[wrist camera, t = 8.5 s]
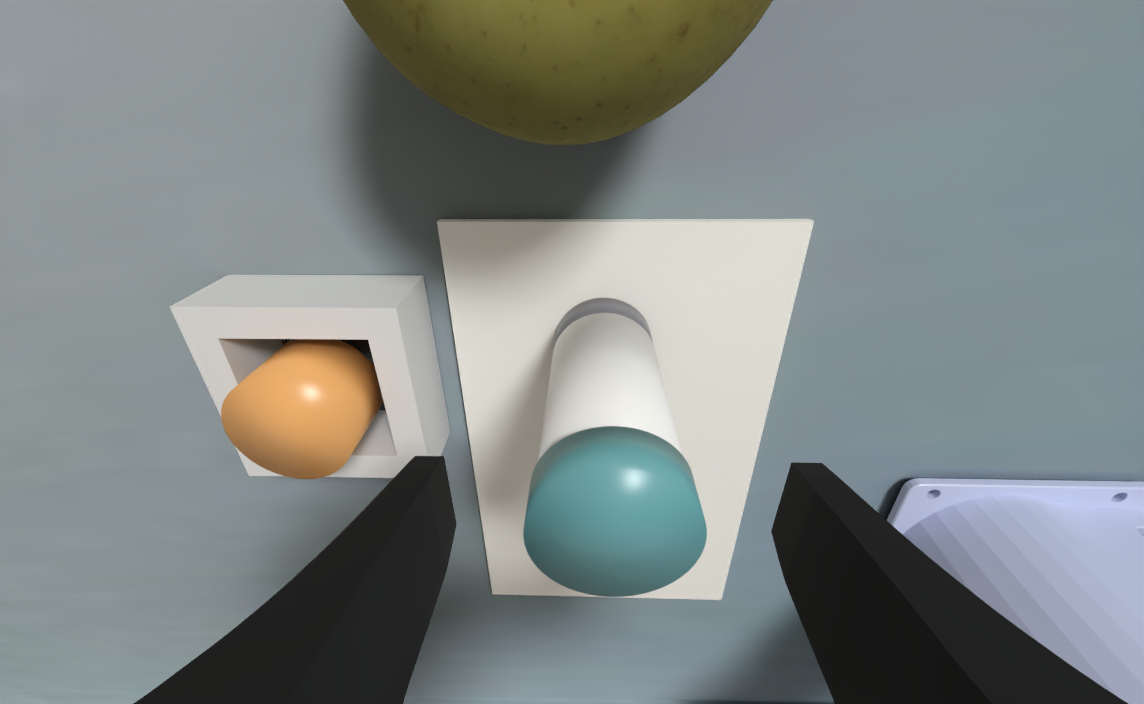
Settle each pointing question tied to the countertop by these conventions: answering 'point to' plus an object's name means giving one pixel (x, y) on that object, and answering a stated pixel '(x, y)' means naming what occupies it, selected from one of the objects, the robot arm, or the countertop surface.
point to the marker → (610, 463)
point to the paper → (681, 340)
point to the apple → (558, 58)
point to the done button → (304, 408)
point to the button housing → (329, 311)
